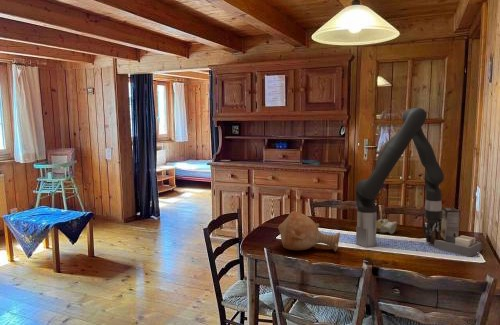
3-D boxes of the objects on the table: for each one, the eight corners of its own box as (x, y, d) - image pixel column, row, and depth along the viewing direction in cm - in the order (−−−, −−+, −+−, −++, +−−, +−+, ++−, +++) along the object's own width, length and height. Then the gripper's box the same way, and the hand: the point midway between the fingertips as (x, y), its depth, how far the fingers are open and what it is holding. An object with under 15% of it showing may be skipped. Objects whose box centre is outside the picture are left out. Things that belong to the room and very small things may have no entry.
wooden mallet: (468, 253, 169) (468, 241, 169) (426, 243, 185) (426, 231, 185) (474, 250, 174) (475, 238, 173) (433, 240, 189) (433, 229, 189)
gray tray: (469, 256, 166) (469, 248, 166) (434, 248, 179) (434, 240, 179) (481, 250, 174) (481, 242, 174) (446, 242, 187) (446, 235, 186)
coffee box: (440, 236, 198) (441, 206, 197) (453, 236, 197) (454, 207, 195) (445, 241, 189) (446, 210, 188) (459, 241, 188) (460, 211, 186)
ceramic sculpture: (394, 220, 198) (366, 218, 207) (394, 236, 198) (367, 233, 207) (399, 216, 207) (372, 215, 215) (399, 232, 207) (373, 229, 216)
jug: (280, 218, 196) (337, 226, 191) (275, 252, 186) (335, 262, 181) (280, 202, 178) (343, 211, 174) (274, 239, 169) (341, 249, 164)
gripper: (432, 205, 192) (431, 236, 193) (418, 209, 183) (417, 241, 185) (447, 207, 186) (446, 239, 187) (433, 212, 177) (432, 245, 179)
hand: (432, 240), depth 186 cm, fingers open, 7 cm apart
